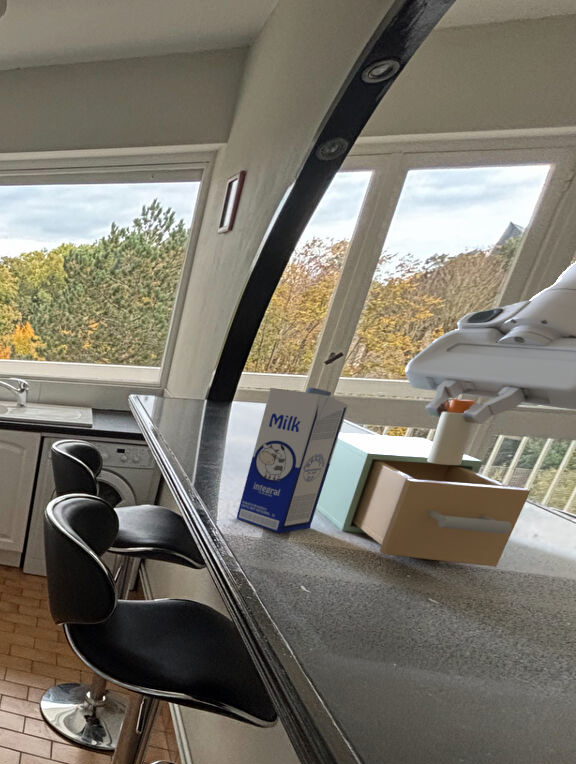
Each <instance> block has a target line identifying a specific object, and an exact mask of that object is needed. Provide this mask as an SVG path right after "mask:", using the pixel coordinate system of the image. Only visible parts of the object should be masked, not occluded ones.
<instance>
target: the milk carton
mask: <svg viewBox="0 0 576 764" xmlns="http://www.w3.org/2000/svg"><path fill="white" fill-rule="evenodd" d="M331 394H332V392H331V391H329V390H326V389H323V388H322V389H320V388H317V387H307V389H306V392H305V391H299V390H298V391H297V390H290V389H283V388H277V387H276V388H275V387H269V393H268V396H267V399H266V404H265V408H264V411H263V416H262V419H261V422H260V427H259V430H258V435H257V438H256V442H255V445H254V450H253V453H252V458H251V461H250V463H249V464H250V465H249V468H248V472H247V476H246V480H245V484H244V487H243V491H242V496H241V499H240V503H239V505H238V506H239V507H238V511H237V514H236V520H240V521H242V522H245V523H248V524H250V525H254V526H257V527H260V528H262V529H266V530H268V531H271V532H274V533H277V534H284V533H289V532H295V531H300V530H306V529H310V528H311V526H312V522H313V520H314V516H315V513H316V510H317V509H316V507H317V504H318V501H319V497H320V494H321V491H322V488H323V485H324V481H325V478H326V475H327V472H328V469H329V466H330V462H331V459H332V456H333V453H334V450H335V446H336V443H337V440H338V437H339V434H340V433H341V430H342V427H343V424H344V420H345V418H346V415H347V411H348V408H349V406H350V404H347V403H345V402H343V401H341V400H339V399H337V398H335V397H332V396H331Z"/></svg>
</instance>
